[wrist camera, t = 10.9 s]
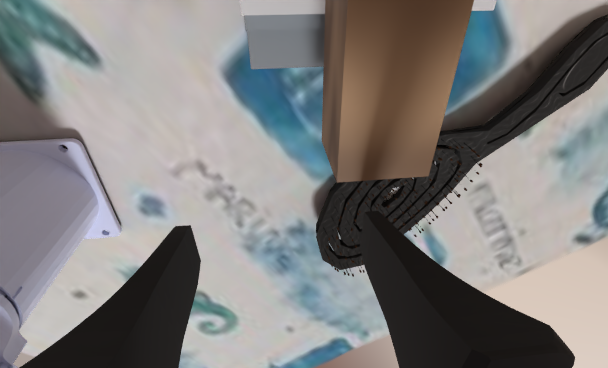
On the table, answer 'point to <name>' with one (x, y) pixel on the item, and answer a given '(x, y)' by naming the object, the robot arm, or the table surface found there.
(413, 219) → the hairbrush
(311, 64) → the ridge stand
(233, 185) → the table surface
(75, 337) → the robot arm
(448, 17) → the walnut stick
